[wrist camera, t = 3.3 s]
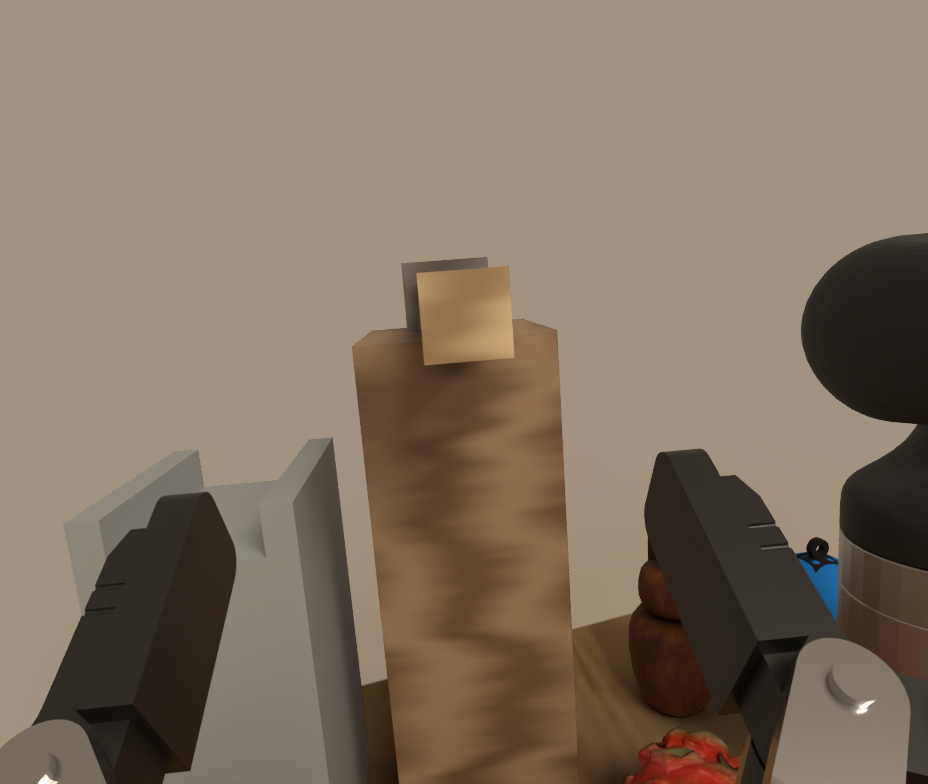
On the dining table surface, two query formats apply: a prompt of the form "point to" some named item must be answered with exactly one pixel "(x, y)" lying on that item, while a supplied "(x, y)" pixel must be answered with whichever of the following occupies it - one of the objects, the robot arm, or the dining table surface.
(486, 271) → the light wooden block
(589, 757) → the dining table surface
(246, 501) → the grey post
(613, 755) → the dining table surface
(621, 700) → the dining table surface
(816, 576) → the ornament
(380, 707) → the dining table surface
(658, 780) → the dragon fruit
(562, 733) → the walnut post
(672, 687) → the wooden figurine
